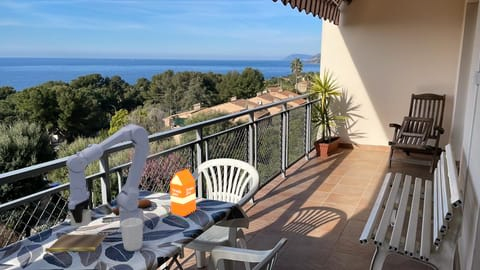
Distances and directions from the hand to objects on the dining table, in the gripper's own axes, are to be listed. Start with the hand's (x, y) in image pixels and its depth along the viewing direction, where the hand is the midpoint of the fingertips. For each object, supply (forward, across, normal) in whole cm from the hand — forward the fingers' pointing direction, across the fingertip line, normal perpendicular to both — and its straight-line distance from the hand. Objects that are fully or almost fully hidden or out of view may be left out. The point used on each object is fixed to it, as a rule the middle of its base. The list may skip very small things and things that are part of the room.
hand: (81, 220), depth 144 cm
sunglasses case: (+10, -34, +9) cm, 37 cm away
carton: (+1, 0, 0) cm, 1 cm away
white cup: (+9, +5, +21) cm, 23 cm away
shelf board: (+9, +2, -1) cm, 9 cm away
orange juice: (+9, -30, +35) cm, 47 cm away
